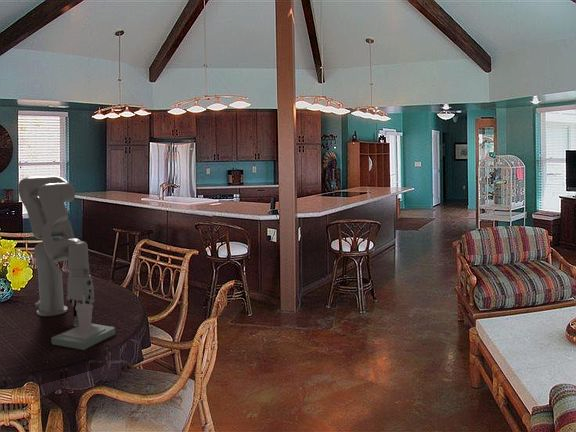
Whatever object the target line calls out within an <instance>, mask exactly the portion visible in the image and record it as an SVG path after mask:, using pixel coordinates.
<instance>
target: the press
mask: <svg viewBox="0 0 576 432" xmlns="http://www.w3.org/2000/svg"><path fill="white" fill-rule="evenodd" d="M76 326H77V327H76ZM115 335H116V328H115V326H109V325H103V324H97V323H91V330H90V331H89V332H81V331H80V327H79V324H75V323H73V327H72V328H69V330H65V331H63V332H60V333H59V334H56V335H54V336H52V337H51V344H52V345H54V346H55V345H56V346H61V347H67V348H71V349H76V350H83V351H85V350H87V349H88V348H91V347H93V346H94V345H95V346H96V344H98V343H100V342H102V341H105V340H107V339H108V338H110V337H113V336H115Z"/></svg>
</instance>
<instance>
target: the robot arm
mask: <svg viewBox="0 0 576 432" xmlns="http://www.w3.org/2000/svg"><path fill="white" fill-rule="evenodd" d="M17 190H18V194H19V198H20V201H21V202H22V205H23V206H24V208H25V210H26V212H27V217H28V220H29V224H30V228H31V232H32V234H33V237H34V238H35V239H37V240H41V242H39V243H37V244H35V247H34V249H33V256H34V259H35V262H36V267H37V269H36V270H37V278H38V279H37V280H38V295H39V300H37V301H36V302H34V306H35V307H38V309H37V310H36V315H37V316H39V317H55V316H60V315H63V314H65V313H67V312H68V311H69V309H68V308H69V307H68V306H66V305H65V304H64V303H65V302H64V287H63V286H64V285H63V272H62V269H61V267H59V266H58V265H57V264H56V263H58V262H64V261H68V262H67V263H68V265H67V266H68V276H67V277H68V278H67V284H66V287H67V288H66V291H67V295H66V297H65V298H66V300H67V301H68V302H69V303H70V304H71V307H72V308H73V309H72V310H73V317H76V318H77V313H76V310H75V307H76V301H75V300H79V301H82V304H83V295H84V296H85V302H86V303H85V304H92V305H93V303H95V302H96V299H95V289H94V283H93V278H92V275H91V274H90V273H91V270H90V265H89V264H90V263H89V248H88V243H87V241H82V240H81V239H79V238H76V237H75V234H74V231H73V227H72V223H71V221H70V219H69V213H68V212H69V211H68V210H67V206H66V205H65V203H70V202H72V201H74V199H75V198H76V191H75V189H74V186H73V185H72V184H71V183H70V182H69V181H68V180H66V179H64V178H63V177H61V176H58V175H39V176H28V177H25V178H24V177H23V178H22V179H21V180H20V181H19V182H18V189H17ZM57 238H59V239H57Z"/></svg>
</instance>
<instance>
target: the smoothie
mask: <svg viewBox="0 0 576 432" xmlns="http://www.w3.org/2000/svg"><path fill="white" fill-rule="evenodd" d="M93 309H94V305H93V303H92V304H85V296H84V295H83V304H80V305H77V306H76V307H75V310H76V311H77V316H78V321H79V327H80V331H81V332H89V331H90V330H91V324H92V319H93V318H92V316H93ZM77 316H76V317H77Z"/></svg>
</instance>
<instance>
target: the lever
mask: <svg viewBox="0 0 576 432" xmlns="http://www.w3.org/2000/svg"><path fill="white" fill-rule="evenodd" d="M75 301H76V306H77V305H80V304H82V301H79V300H75ZM85 303H86V302H85ZM76 313H77V311H76ZM74 324H79V321H78V316H76V318H74Z"/></svg>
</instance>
